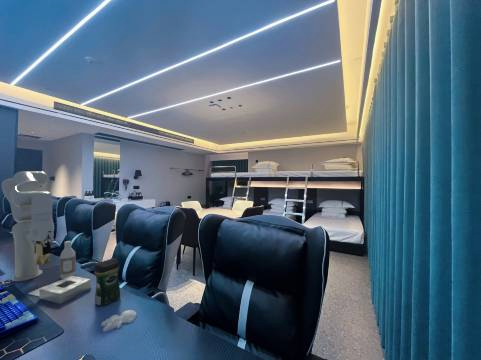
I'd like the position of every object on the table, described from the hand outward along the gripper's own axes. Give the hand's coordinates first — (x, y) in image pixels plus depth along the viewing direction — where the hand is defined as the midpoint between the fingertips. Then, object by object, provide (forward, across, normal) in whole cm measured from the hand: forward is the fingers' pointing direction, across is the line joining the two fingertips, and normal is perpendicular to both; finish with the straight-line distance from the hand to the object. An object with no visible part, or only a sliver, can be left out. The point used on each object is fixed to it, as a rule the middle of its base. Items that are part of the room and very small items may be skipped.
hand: (42, 252), depth 105 cm
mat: (+19, 0, 0) cm, 19 cm away
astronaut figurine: (+20, +55, -7) cm, 59 cm away
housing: (+19, +13, +2) cm, 23 cm away
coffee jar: (+19, +38, +3) cm, 43 cm away
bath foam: (+19, -5, +15) cm, 25 cm away
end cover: (+5, 0, 0) cm, 5 cm away
